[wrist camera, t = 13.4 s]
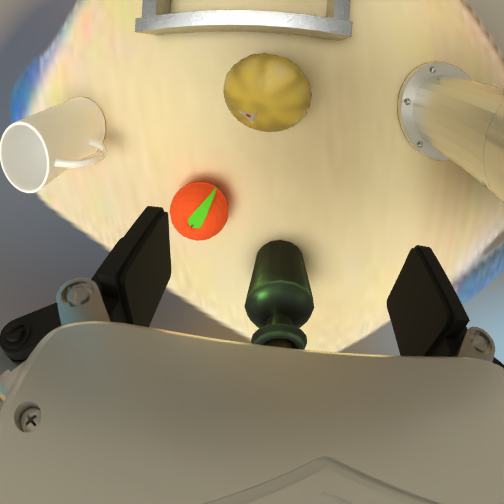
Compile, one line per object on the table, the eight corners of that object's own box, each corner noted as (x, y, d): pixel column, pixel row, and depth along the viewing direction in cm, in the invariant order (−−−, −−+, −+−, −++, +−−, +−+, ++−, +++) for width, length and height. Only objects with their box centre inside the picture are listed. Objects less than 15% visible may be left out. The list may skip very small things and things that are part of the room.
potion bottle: (305, 281, 45) (314, 388, 31) (251, 280, 46) (239, 386, 31) (310, 235, 41) (326, 343, 26) (249, 233, 41) (234, 341, 27)
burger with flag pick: (315, 77, 29) (335, 84, 19) (283, 129, 33) (287, 162, 23) (252, 45, 27) (240, 35, 18) (222, 99, 31) (197, 117, 21)
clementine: (199, 156, 35) (183, 177, 30) (247, 186, 37) (241, 212, 32) (170, 204, 39) (152, 232, 34) (214, 230, 41) (204, 262, 36)
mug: (135, 116, 33) (83, 143, 23) (117, 174, 37) (69, 218, 27) (64, 89, 30) (1, 110, 20) (51, 145, 35) (-4, 180, 25)
